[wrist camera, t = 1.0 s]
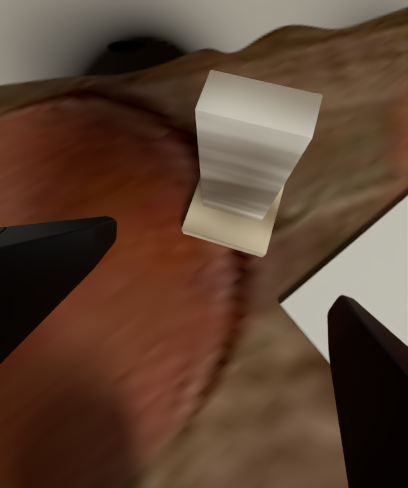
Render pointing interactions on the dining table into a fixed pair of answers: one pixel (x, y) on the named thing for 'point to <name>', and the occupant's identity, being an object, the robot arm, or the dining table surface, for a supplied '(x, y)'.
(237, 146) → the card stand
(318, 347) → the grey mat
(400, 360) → the robot arm
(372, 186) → the dining table surface
